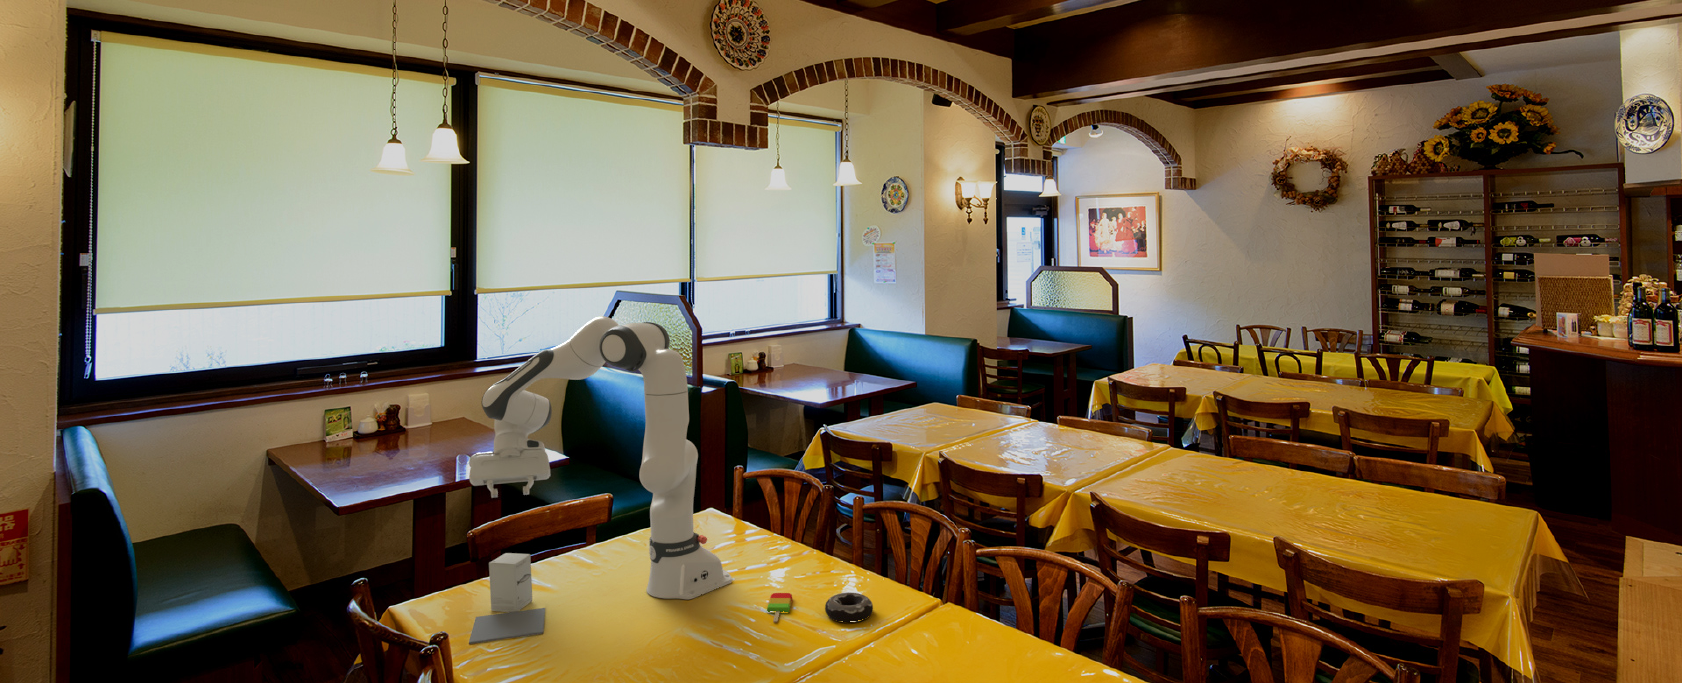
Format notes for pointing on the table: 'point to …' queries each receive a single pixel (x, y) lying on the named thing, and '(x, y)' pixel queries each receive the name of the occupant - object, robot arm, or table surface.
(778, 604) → the popsicle
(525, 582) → the supplement box
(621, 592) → the table surface
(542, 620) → the rubber mat
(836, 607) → the donut
